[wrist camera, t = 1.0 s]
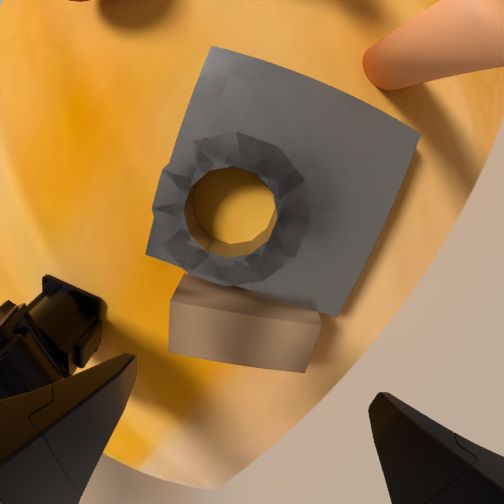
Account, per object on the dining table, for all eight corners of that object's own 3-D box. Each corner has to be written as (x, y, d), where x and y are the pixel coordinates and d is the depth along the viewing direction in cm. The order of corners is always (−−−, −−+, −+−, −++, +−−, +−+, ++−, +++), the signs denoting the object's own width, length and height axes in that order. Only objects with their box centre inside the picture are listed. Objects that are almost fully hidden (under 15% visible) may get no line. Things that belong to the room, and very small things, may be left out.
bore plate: (152, 244, 22) (140, 256, 20) (212, 55, 17) (207, 44, 15) (328, 303, 23) (334, 320, 21) (404, 133, 18) (421, 133, 16)
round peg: (356, 76, 17) (463, 21, 5) (370, 36, 16) (470, -36, 4) (400, 99, 18) (528, 82, 6) (412, 60, 16) (532, 21, 5)
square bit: (181, 319, 24) (168, 352, 20) (184, 272, 23) (170, 300, 19) (298, 337, 25) (304, 373, 21) (312, 293, 23) (322, 325, 19)
